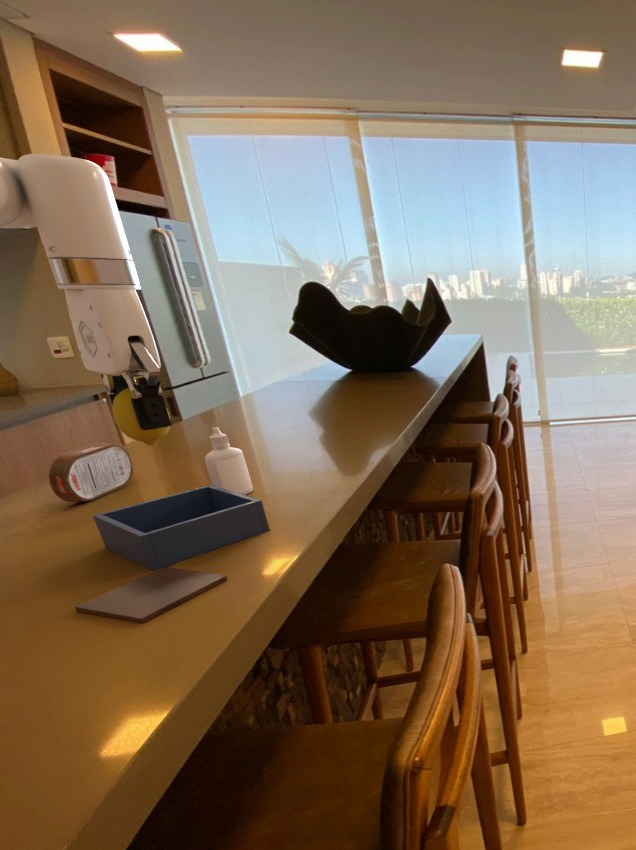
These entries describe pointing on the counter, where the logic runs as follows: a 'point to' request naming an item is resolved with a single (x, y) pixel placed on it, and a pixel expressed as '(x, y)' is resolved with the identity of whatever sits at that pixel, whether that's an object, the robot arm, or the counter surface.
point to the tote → (181, 525)
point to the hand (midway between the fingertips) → (144, 423)
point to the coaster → (151, 594)
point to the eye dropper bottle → (227, 465)
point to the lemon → (133, 420)
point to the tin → (90, 472)
